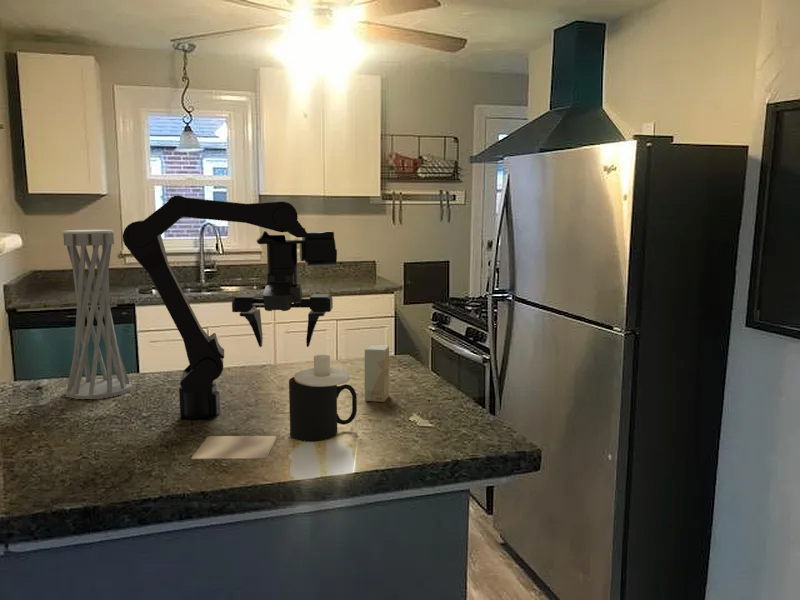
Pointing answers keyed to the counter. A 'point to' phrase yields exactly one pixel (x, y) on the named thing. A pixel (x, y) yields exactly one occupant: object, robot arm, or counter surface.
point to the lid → (321, 374)
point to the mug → (316, 411)
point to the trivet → (235, 447)
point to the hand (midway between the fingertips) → (284, 346)
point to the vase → (107, 384)
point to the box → (376, 373)
